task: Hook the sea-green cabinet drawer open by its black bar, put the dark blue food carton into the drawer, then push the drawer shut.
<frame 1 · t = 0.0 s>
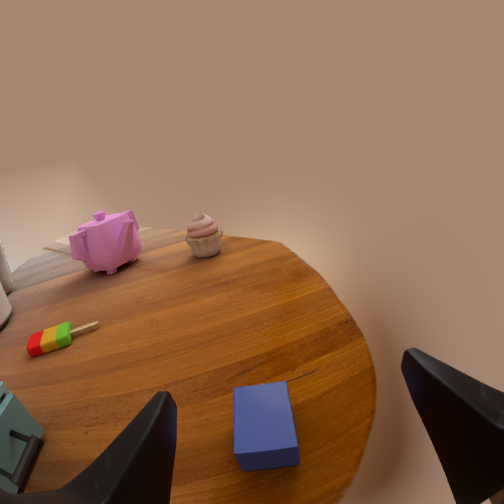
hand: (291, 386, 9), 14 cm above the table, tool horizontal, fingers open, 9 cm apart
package: (267, 436, 20), on the table
popsicle: (64, 340, 38), on the table
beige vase: (5, 294, 62), on the table
teapot: (114, 265, 70), on the table
cupcake: (207, 254, 66), on the table
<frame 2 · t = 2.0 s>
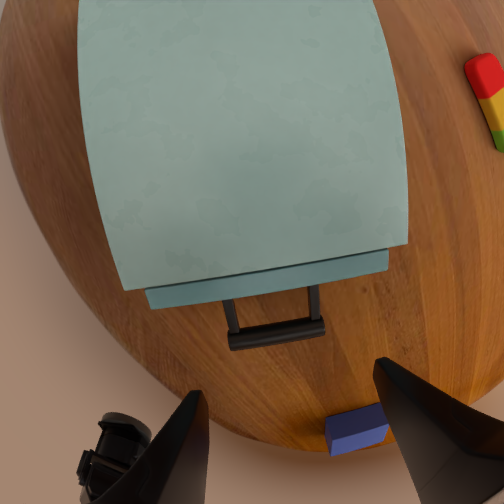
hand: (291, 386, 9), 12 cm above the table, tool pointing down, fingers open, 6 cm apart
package: (351, 419, 28), on the table
popsicle: (500, 126, 17), on the table
drawer: (253, 185, 15), point 4 cm above the table, slide at 0.5 cm
cabinet: (239, 110, 17), on the table
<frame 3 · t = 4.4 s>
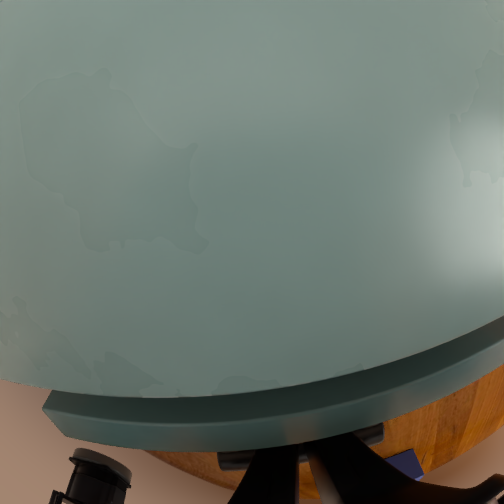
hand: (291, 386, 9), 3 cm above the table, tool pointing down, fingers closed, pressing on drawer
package: (376, 468, 19), on the table
drawer: (271, 176, 6), point 4 cm above the table, slide at 1.9 cm, touching gripper
cabinet: (233, 13, 7), on the table
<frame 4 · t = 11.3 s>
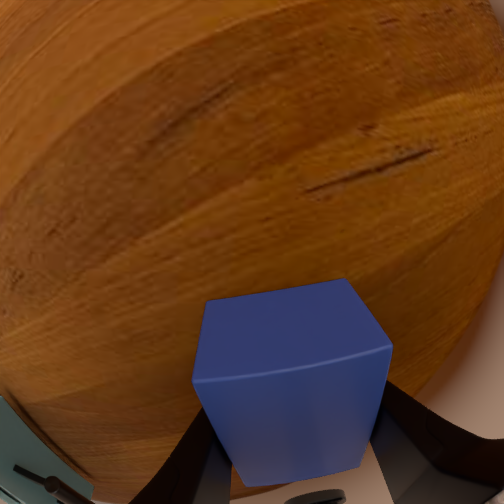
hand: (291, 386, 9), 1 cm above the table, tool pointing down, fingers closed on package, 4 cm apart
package: (286, 367, 10), on the table, touching gripper
drawer: (6, 461, 10), point 4 cm above the table, slide at 7.1 cm
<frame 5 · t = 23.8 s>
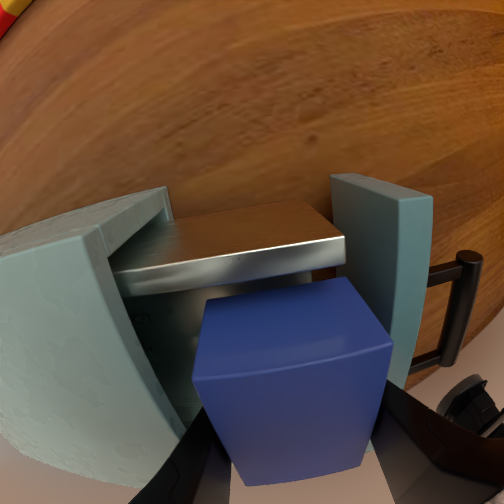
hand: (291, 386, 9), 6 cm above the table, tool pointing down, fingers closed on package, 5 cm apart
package: (286, 365, 10), point 5 cm above the table, touching gripper
drawer: (272, 350, 11), point 4 cm above the table, slide at 7.3 cm
cabinet: (83, 323, 15), on the table
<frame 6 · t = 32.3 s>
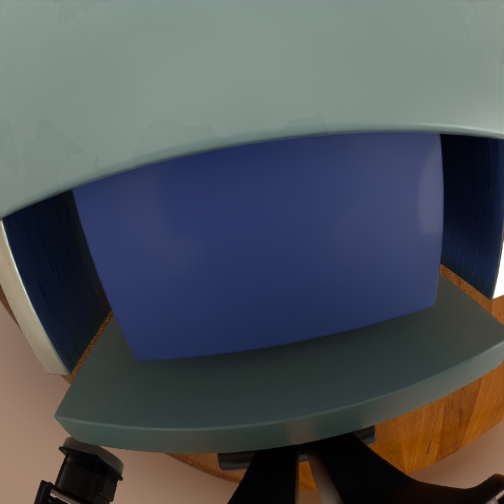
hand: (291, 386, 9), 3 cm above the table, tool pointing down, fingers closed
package: (262, 200, 8), point 2 cm above the table, touching drawer
drawer: (264, 202, 6), point 4 cm above the table, slide at 4.9 cm, touching gripper, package
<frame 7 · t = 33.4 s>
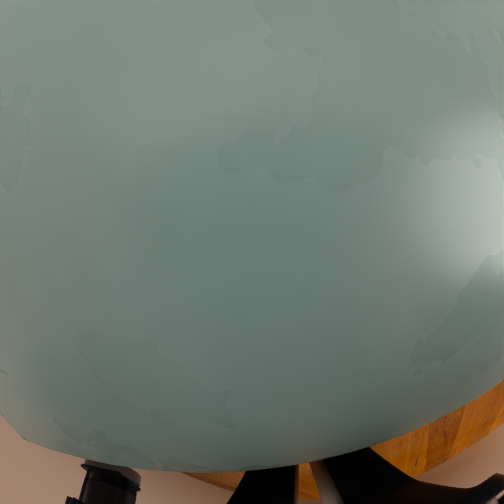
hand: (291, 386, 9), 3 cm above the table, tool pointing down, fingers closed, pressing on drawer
cabinet: (233, 65, 8), on the table
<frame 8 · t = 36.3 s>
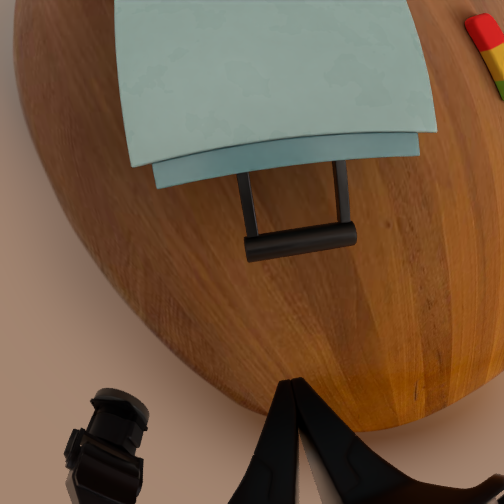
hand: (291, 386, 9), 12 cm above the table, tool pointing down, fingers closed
popsicle: (503, 80, 15), on the table
drawer: (274, 75, 12), point 4 cm above the table, slide at 0.0 cm, touching cabinet, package
cabinet: (257, 36, 15), on the table
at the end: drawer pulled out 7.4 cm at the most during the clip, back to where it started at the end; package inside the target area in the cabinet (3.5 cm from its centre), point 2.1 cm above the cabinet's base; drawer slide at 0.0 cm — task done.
